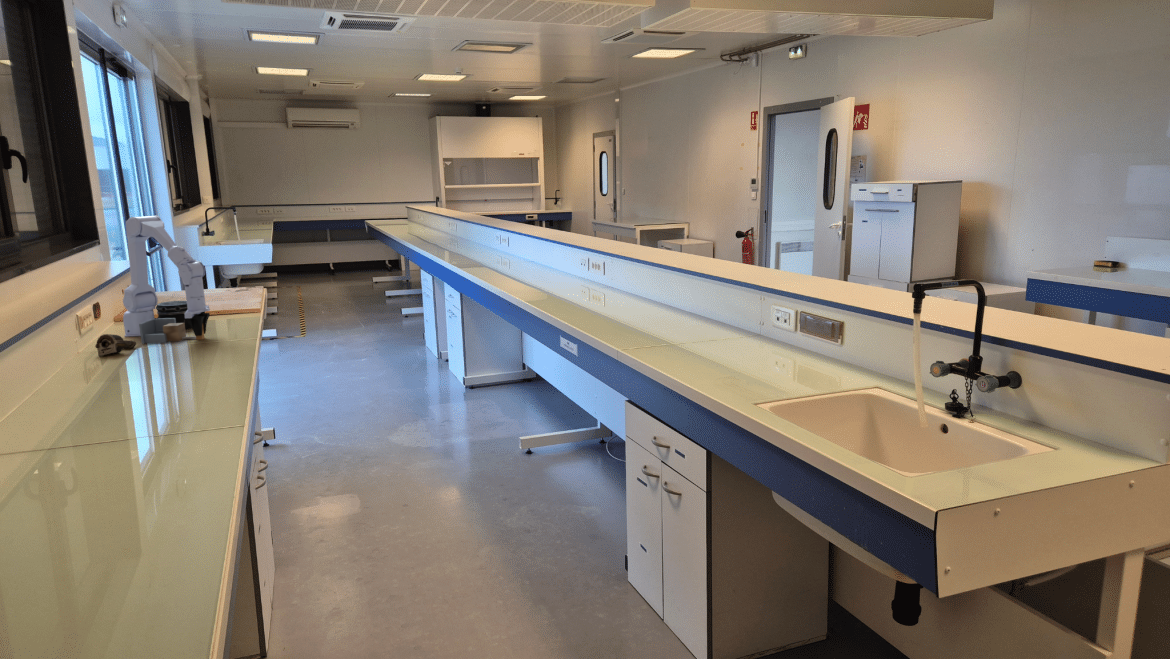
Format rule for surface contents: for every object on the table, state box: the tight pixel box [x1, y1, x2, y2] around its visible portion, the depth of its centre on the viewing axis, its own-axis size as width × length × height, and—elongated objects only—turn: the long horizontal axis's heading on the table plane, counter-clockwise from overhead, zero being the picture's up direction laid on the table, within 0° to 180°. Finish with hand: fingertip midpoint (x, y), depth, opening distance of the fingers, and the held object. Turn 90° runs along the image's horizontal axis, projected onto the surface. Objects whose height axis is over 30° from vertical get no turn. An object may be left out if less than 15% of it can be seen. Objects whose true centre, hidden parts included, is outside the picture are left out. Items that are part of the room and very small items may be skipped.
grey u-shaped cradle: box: [139, 318, 176, 345], centre depth 257 cm, size 8×10×7 cm
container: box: [155, 300, 192, 331], centre depth 278 cm, size 13×13×10 cm
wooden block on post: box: [163, 323, 206, 342], centre depth 258 cm, size 12×5×6 cm, turn 93°
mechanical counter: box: [94, 333, 137, 357], centre depth 240 cm, size 7×13×10 cm
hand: (200, 334), depth 259 cm, fingers closed on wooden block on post, 2 cm apart
